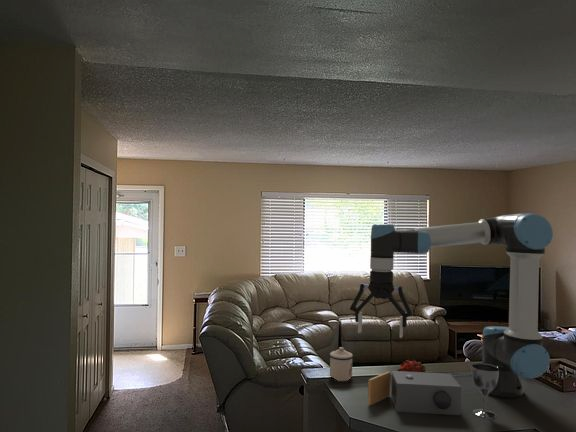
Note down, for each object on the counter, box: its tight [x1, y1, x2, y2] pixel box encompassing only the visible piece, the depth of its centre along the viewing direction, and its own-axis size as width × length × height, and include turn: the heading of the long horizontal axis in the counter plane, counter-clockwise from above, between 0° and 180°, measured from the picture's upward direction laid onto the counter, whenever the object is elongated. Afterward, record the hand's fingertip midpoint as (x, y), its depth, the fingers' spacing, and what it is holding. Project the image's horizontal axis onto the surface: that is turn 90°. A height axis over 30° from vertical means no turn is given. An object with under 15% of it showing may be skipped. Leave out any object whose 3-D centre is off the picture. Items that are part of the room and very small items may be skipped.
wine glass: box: [471, 362, 499, 420], centre depth 140 cm, size 8×8×15 cm
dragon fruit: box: [396, 359, 427, 373], centre depth 168 cm, size 8×8×12 cm
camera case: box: [390, 370, 462, 416], centre depth 144 cm, size 20×14×10 cm
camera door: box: [367, 370, 391, 406], centre depth 148 cm, size 12×1×8 cm, turn 135°
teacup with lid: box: [329, 346, 354, 382], centre depth 171 cm, size 12×9×12 cm
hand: (380, 334), depth 145 cm, fingers open, 13 cm apart
